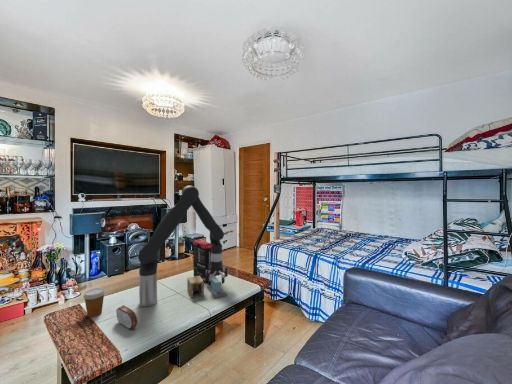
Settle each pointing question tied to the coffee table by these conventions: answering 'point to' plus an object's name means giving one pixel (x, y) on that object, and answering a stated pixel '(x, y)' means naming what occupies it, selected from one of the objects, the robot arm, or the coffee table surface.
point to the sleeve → (195, 285)
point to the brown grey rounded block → (126, 317)
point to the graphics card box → (201, 258)
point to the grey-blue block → (215, 284)
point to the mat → (218, 294)
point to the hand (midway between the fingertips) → (216, 284)
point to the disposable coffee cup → (94, 301)
